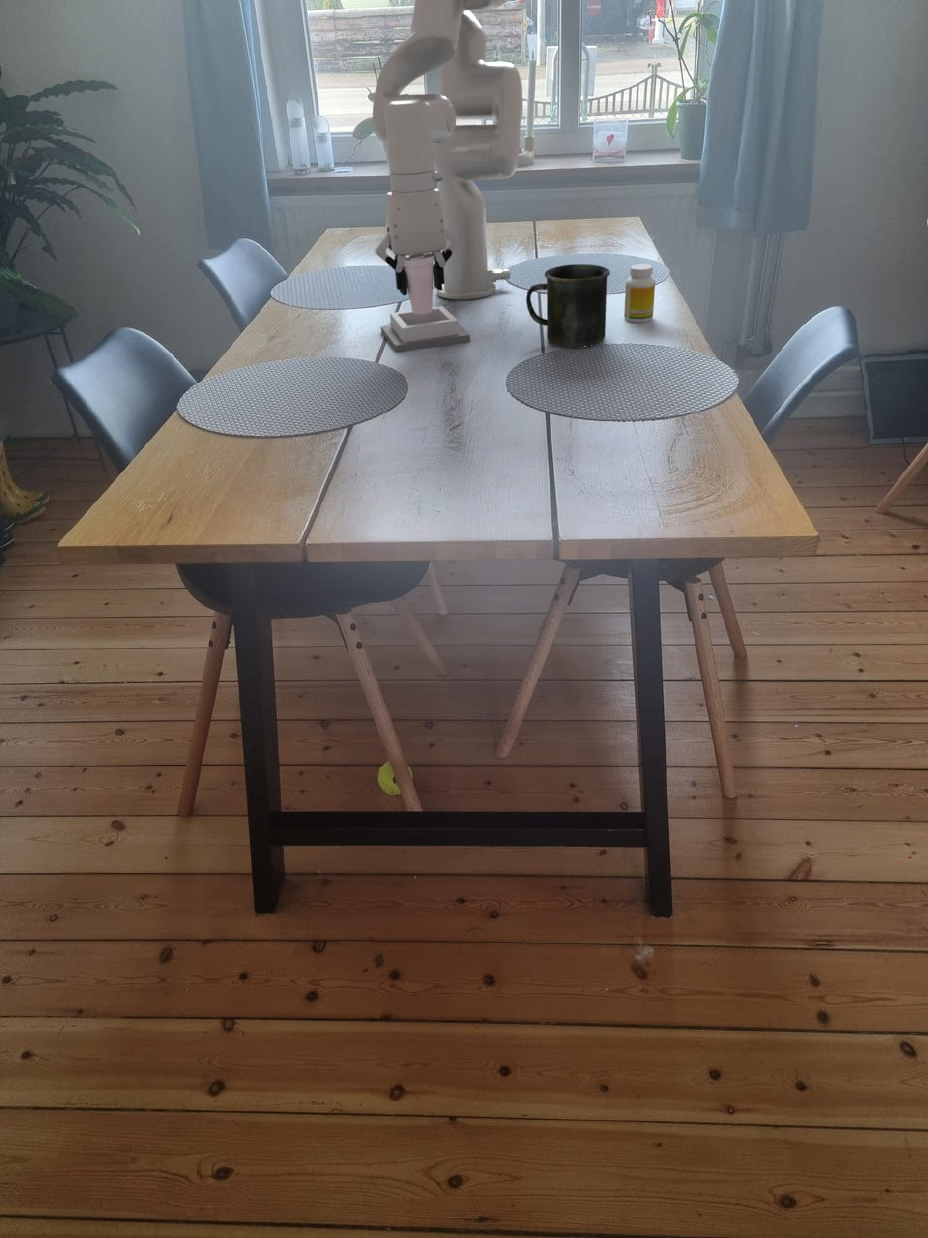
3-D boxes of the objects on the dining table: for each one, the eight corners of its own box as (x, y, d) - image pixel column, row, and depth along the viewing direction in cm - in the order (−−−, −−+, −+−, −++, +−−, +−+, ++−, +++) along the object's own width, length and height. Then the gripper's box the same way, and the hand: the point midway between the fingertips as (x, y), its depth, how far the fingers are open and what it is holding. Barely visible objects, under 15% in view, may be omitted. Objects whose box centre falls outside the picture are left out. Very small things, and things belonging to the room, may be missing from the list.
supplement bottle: (618, 318, 173) (620, 265, 167) (641, 313, 175) (644, 261, 169) (635, 324, 169) (638, 271, 163) (658, 319, 171) (662, 266, 165)
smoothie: (444, 306, 168) (437, 226, 161) (432, 316, 164) (424, 234, 156) (412, 305, 170) (404, 226, 163) (400, 316, 166) (390, 235, 158)
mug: (606, 350, 158) (609, 279, 151) (523, 350, 160) (522, 280, 153) (608, 331, 167) (610, 263, 160) (529, 331, 169) (528, 264, 162)
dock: (451, 322, 176) (449, 302, 174) (470, 341, 166) (469, 320, 164) (381, 332, 174) (379, 312, 172) (396, 352, 163) (394, 331, 161)
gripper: (454, 174, 160) (460, 280, 170) (359, 184, 156) (370, 292, 166) (466, 180, 154) (472, 289, 164) (367, 191, 150) (379, 302, 160)
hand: (420, 289), depth 165 cm, fingers closed on smoothie, 5 cm apart
